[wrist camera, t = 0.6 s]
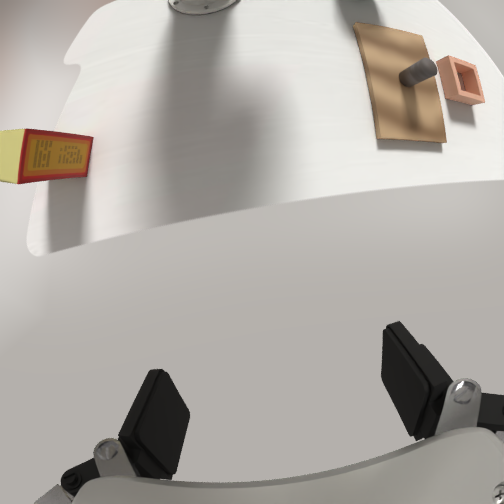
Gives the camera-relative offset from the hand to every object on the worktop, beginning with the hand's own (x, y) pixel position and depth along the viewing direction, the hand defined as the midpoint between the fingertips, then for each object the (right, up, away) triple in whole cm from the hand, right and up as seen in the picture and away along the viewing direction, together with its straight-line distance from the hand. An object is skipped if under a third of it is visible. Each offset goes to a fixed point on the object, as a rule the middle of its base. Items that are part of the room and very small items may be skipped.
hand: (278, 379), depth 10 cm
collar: (+35, +35, +20) cm, 54 cm away
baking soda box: (-32, +21, +25) cm, 46 cm away
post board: (+22, +32, +21) cm, 44 cm away
